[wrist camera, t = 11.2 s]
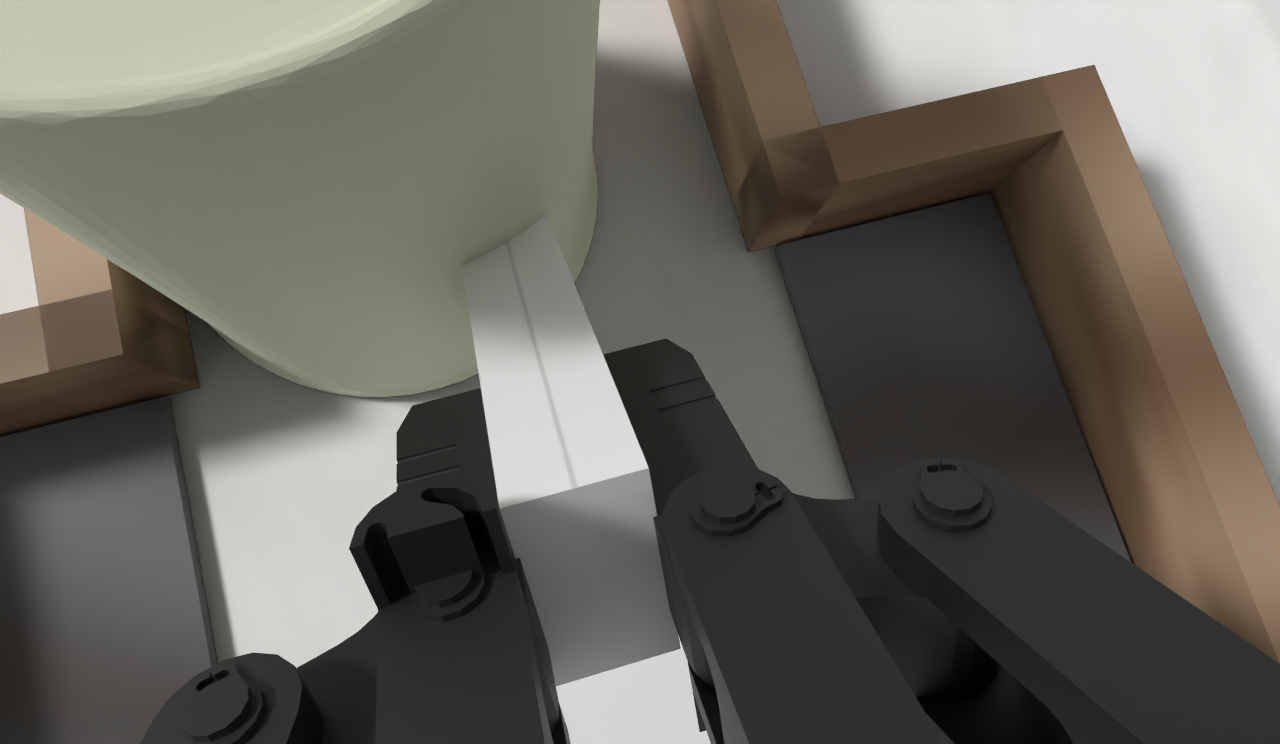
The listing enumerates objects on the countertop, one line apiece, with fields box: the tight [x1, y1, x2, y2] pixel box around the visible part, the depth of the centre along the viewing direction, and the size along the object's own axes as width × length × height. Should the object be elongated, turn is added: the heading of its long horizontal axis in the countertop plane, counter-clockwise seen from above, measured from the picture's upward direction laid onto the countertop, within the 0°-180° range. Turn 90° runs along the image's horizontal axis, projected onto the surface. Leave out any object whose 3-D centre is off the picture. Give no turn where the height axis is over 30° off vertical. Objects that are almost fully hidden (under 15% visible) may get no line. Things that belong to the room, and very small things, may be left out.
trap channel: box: [0, 0, 1280, 744], centre depth 14 cm, size 35×26×6 cm
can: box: [0, 0, 600, 397], centre depth 13 cm, size 9×9×12 cm
